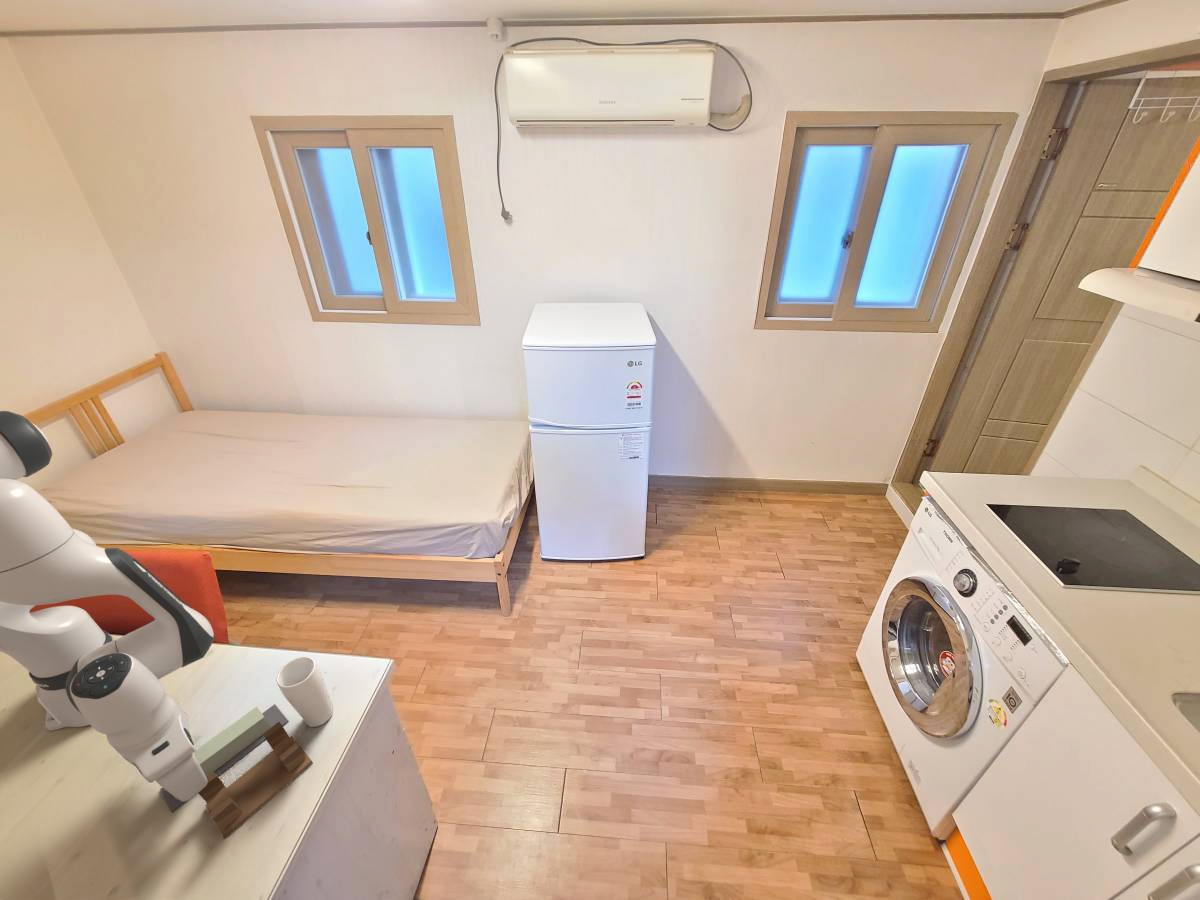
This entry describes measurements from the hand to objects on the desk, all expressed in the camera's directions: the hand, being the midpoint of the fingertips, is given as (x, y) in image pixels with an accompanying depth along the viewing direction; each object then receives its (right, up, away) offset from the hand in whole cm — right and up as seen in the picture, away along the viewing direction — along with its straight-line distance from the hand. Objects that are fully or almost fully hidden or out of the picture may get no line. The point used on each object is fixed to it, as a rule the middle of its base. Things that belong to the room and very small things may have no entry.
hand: (189, 771), depth 89 cm
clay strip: (+3, 0, +4) cm, 5 cm away
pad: (+3, 0, +5) cm, 6 cm away
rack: (+13, -3, +1) cm, 13 cm away
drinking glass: (+17, +4, +12) cm, 21 cm away
